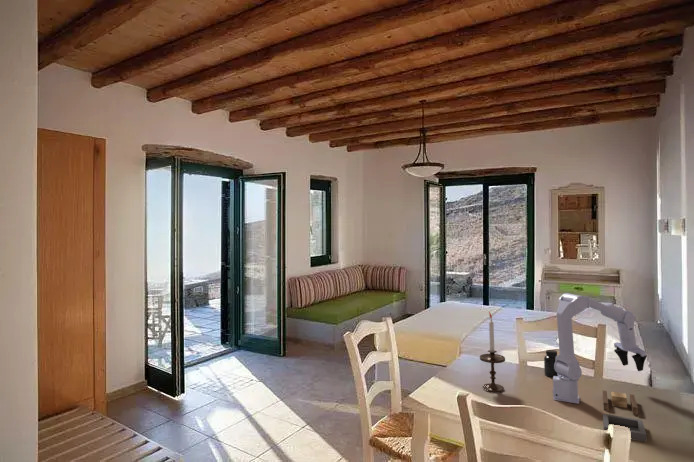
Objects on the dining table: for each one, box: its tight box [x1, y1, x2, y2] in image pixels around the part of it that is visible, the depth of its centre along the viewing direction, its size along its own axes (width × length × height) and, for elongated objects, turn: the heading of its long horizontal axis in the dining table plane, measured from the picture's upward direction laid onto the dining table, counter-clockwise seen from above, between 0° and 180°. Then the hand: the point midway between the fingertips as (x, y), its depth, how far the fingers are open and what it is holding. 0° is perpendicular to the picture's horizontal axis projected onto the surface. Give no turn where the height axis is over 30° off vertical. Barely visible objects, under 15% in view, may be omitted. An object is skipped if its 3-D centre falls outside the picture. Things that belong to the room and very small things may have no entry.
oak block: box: [610, 391, 628, 408], centre depth 168 cm, size 5×5×4 cm
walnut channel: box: [602, 390, 639, 417], centre depth 167 cm, size 11×14×3 cm
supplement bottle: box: [543, 349, 558, 378], centre depth 203 cm, size 7×7×12 cm
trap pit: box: [602, 413, 648, 443], centre depth 147 cm, size 12×12×2 cm
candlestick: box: [479, 311, 506, 393], centre depth 188 cm, size 11×11×35 cm
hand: (632, 367), depth 180 cm, fingers open, 7 cm apart
